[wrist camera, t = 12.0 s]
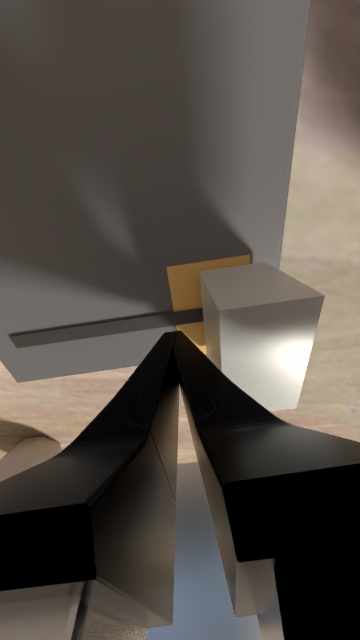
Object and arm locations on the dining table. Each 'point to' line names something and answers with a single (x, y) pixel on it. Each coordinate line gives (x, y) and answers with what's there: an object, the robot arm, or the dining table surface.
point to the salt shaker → (28, 455)
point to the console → (136, 168)
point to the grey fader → (260, 330)
